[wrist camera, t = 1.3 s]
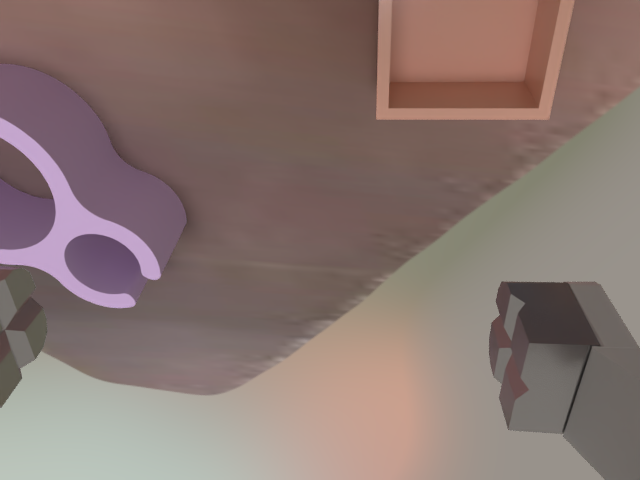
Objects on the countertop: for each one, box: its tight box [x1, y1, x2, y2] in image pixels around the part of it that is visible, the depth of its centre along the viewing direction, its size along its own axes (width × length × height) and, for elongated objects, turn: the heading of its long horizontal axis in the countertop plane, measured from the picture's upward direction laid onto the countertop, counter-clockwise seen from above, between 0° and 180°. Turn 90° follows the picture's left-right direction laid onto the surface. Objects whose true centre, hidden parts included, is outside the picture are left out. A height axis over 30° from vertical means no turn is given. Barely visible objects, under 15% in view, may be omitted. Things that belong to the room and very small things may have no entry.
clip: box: [0, 64, 187, 308], centre depth 41 cm, size 20×12×7 cm, turn 50°
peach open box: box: [376, 0, 575, 120], centre depth 32 cm, size 10×10×5 cm
